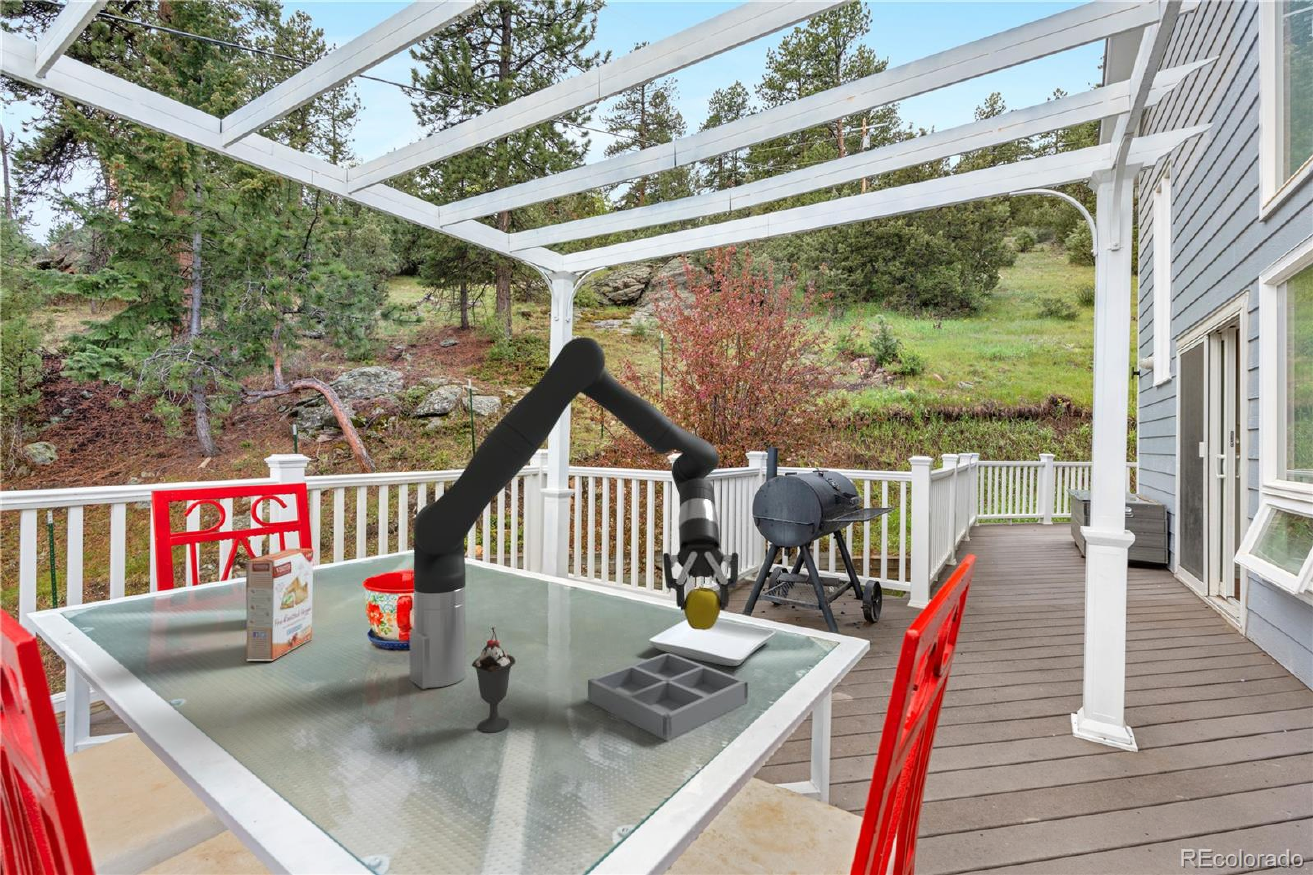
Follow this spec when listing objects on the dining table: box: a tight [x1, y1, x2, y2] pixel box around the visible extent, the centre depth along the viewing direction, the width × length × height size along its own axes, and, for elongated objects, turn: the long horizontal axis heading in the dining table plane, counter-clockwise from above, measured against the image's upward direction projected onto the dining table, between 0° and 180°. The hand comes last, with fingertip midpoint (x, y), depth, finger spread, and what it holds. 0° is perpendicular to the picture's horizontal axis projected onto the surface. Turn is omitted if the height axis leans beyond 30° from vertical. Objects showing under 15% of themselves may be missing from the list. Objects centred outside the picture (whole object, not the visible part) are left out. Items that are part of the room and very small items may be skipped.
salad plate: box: [648, 619, 776, 667], centre depth 132 cm, size 21×21×3 cm
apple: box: [683, 586, 721, 630], centre depth 106 cm, size 6×6×8 cm
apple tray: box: [587, 652, 749, 742], centre depth 105 cm, size 20×20×4 cm
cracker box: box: [246, 548, 314, 660], centre depth 130 cm, size 14×6×21 cm, turn 179°
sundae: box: [471, 626, 516, 734], centre depth 97 cm, size 7×7×15 cm
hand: (703, 607), depth 104 cm, fingers closed on apple, 6 cm apart
